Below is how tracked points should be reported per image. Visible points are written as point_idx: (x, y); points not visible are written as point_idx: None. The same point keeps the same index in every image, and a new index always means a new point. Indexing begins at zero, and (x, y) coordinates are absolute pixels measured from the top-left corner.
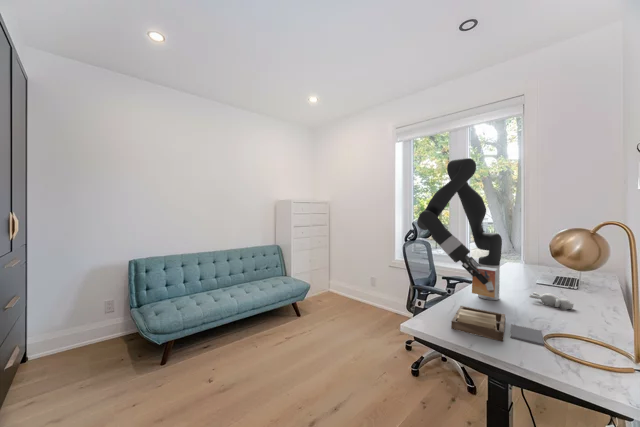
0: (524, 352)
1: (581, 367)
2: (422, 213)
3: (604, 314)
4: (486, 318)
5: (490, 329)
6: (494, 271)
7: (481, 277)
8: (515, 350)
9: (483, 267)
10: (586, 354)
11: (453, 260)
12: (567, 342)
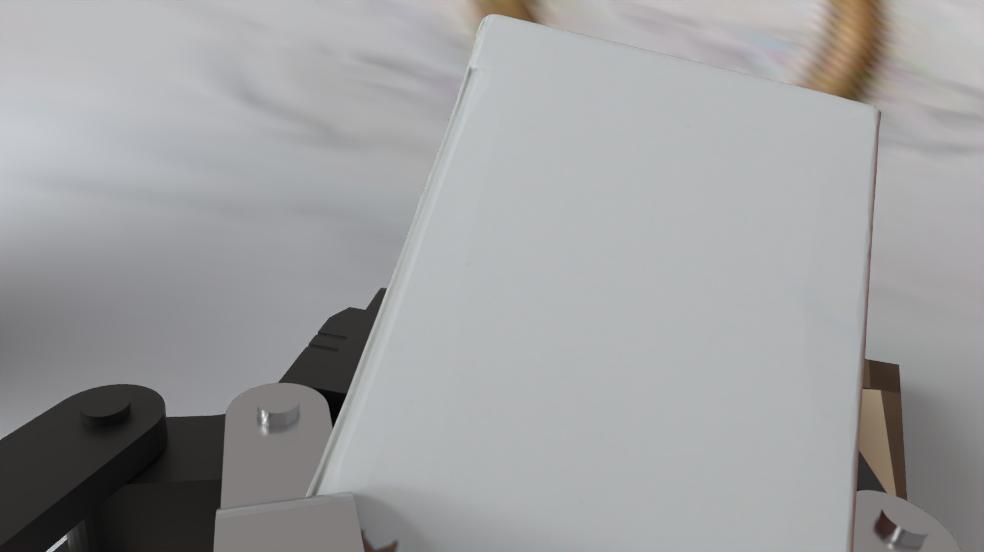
0: (941, 279)
1: (926, 69)
2: None
3: None
4: (875, 473)
5: (892, 452)
6: (876, 129)
7: (861, 482)
8: (950, 325)
9: (538, 360)
10: (739, 8)
11: None
12: (620, 40)
